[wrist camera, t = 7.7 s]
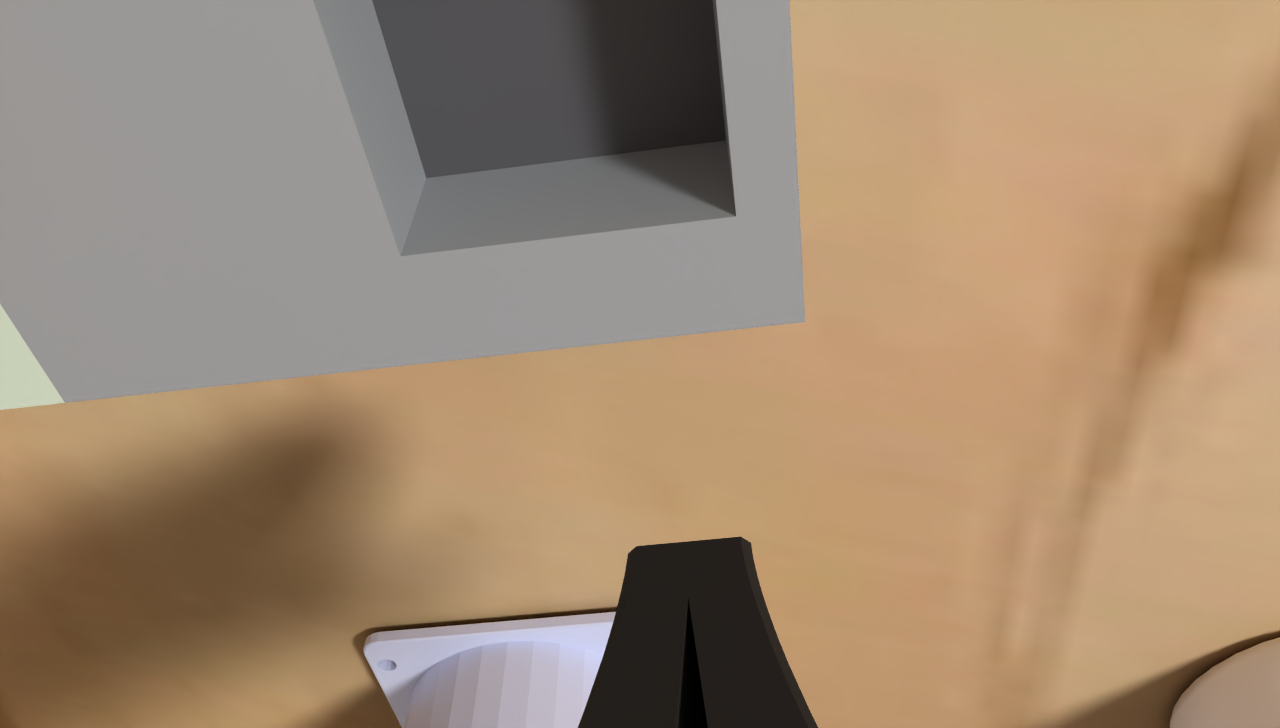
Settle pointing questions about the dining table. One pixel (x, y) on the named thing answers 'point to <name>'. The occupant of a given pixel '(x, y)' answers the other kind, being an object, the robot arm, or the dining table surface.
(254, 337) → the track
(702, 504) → the dining table surface
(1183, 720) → the milk bottle
